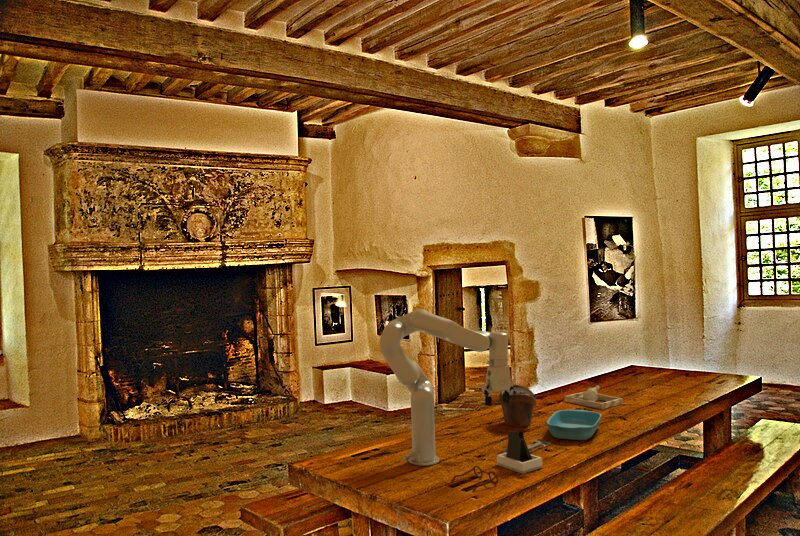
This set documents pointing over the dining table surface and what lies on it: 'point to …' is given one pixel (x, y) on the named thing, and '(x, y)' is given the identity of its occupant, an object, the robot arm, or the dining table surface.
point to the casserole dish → (573, 424)
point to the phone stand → (517, 447)
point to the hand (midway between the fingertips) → (497, 404)
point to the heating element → (535, 445)
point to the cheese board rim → (610, 401)
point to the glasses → (479, 477)
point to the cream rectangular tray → (519, 463)
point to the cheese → (590, 394)
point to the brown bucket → (518, 406)
